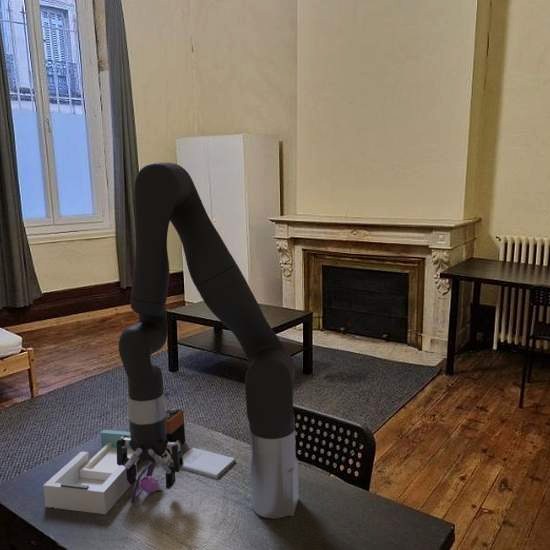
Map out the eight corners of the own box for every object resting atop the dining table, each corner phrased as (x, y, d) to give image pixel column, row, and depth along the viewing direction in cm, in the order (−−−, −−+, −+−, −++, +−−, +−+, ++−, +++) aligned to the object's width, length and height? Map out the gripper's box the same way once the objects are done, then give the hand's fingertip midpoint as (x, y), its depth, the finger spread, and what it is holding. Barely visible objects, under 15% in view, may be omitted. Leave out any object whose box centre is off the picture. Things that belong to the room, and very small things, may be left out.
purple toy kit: (153, 453, 117) (135, 475, 109) (174, 461, 117) (157, 484, 108) (146, 477, 119) (127, 501, 110) (166, 486, 118) (149, 511, 110)
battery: (186, 442, 135) (184, 406, 133) (172, 455, 129) (169, 417, 127) (171, 439, 137) (169, 404, 135) (157, 452, 131) (154, 415, 129)
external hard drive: (217, 481, 118) (173, 468, 124) (235, 463, 126) (193, 452, 131) (216, 474, 118) (173, 462, 124) (235, 457, 125) (193, 446, 131)
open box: (137, 476, 120) (135, 455, 119) (105, 514, 107) (103, 490, 106) (83, 470, 123) (81, 449, 122) (45, 506, 110) (42, 483, 109)
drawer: (154, 453, 129) (153, 433, 128) (127, 485, 116) (125, 464, 115) (105, 448, 132) (103, 429, 131) (72, 479, 119) (70, 458, 118)
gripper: (185, 409, 111) (188, 478, 114) (124, 404, 114) (129, 471, 117) (172, 425, 104) (175, 498, 107) (107, 419, 107) (112, 491, 110)
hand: (151, 484), depth 112 cm, fingers open, 8 cm apart
